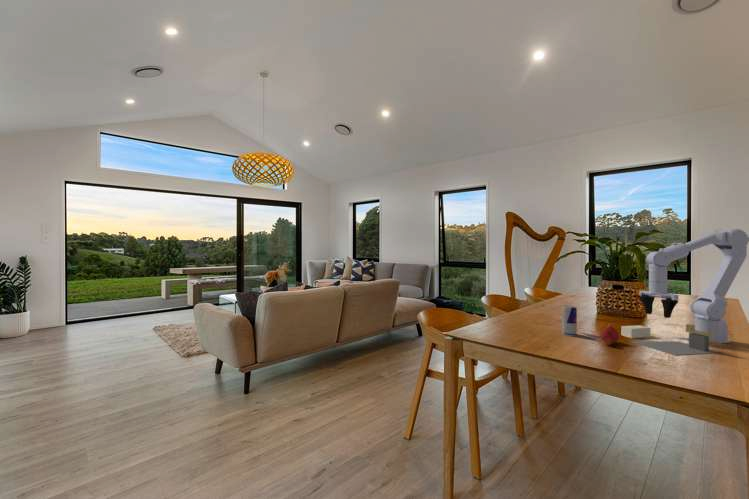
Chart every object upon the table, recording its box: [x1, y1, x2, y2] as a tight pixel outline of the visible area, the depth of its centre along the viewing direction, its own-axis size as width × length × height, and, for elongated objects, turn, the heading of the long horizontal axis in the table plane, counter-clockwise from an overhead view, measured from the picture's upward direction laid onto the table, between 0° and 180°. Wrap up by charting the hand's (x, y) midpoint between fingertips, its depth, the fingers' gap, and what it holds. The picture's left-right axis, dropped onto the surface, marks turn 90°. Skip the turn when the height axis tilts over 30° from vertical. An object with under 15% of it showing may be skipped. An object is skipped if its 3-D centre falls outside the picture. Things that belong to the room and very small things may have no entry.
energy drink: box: [561, 304, 578, 337], centre depth 146 cm, size 5×5×12 cm
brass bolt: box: [685, 323, 715, 337], centre depth 122 cm, size 2×8×3 cm, turn 10°
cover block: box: [620, 324, 651, 339], centre depth 140 cm, size 9×4×5 cm, turn 101°
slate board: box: [629, 332, 721, 357], centre depth 126 cm, size 18×18×6 cm
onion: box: [599, 323, 620, 346], centre depth 131 cm, size 6×6×8 cm
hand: (657, 315), depth 140 cm, fingers open, 7 cm apart
